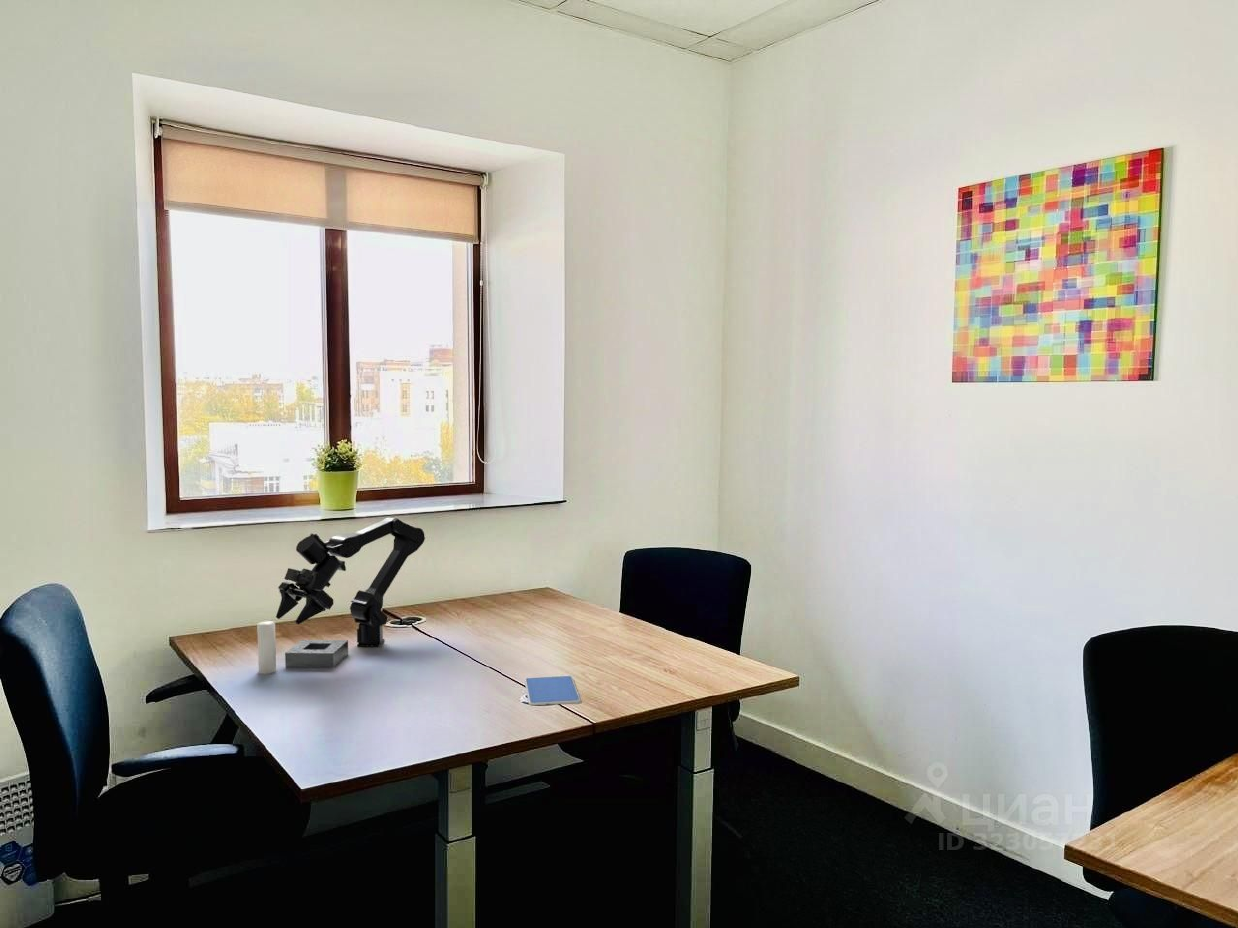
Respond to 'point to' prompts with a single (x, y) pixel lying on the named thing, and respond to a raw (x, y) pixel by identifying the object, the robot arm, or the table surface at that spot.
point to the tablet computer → (551, 690)
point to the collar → (316, 654)
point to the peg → (266, 647)
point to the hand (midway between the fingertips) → (286, 620)
